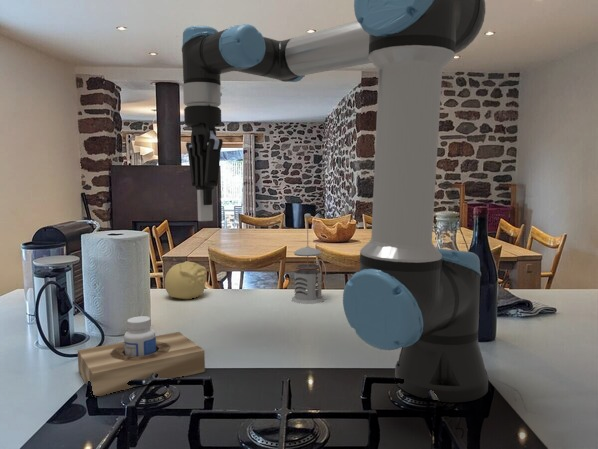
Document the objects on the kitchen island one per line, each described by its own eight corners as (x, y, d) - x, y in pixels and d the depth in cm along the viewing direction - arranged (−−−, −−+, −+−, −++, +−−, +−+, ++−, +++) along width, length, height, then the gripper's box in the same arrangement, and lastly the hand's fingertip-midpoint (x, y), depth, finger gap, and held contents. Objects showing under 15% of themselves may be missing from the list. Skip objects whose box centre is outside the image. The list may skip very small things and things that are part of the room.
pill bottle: (155, 364, 93) (153, 313, 92) (158, 374, 88) (156, 321, 87) (124, 368, 91) (122, 316, 90) (126, 379, 86) (124, 324, 85)
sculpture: (198, 302, 139) (197, 265, 138) (158, 301, 141) (157, 264, 140) (212, 293, 150) (211, 258, 149) (175, 292, 153) (174, 257, 152)
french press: (309, 294, 149) (309, 211, 147) (336, 301, 140) (336, 213, 138) (284, 299, 143) (283, 213, 141) (310, 307, 134) (310, 215, 132)
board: (204, 371, 89) (204, 350, 89) (93, 397, 79) (92, 373, 78) (179, 351, 100) (179, 331, 100) (78, 371, 89) (77, 350, 89)
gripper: (233, 104, 98) (236, 221, 101) (205, 111, 109) (208, 218, 111) (198, 100, 94) (201, 223, 96) (173, 109, 105) (176, 219, 107)
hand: (205, 220), depth 104 cm, fingers closed
